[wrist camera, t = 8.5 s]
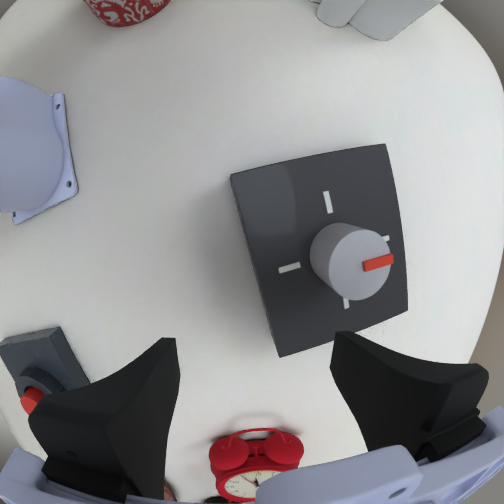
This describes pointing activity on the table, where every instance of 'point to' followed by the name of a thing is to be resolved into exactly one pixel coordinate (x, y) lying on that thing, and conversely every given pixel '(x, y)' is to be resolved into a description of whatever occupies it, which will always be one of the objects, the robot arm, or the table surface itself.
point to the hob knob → (351, 260)
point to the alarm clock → (252, 462)
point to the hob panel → (304, 231)
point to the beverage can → (220, 501)
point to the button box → (42, 362)
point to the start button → (31, 399)
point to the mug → (124, 10)
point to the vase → (374, 15)
